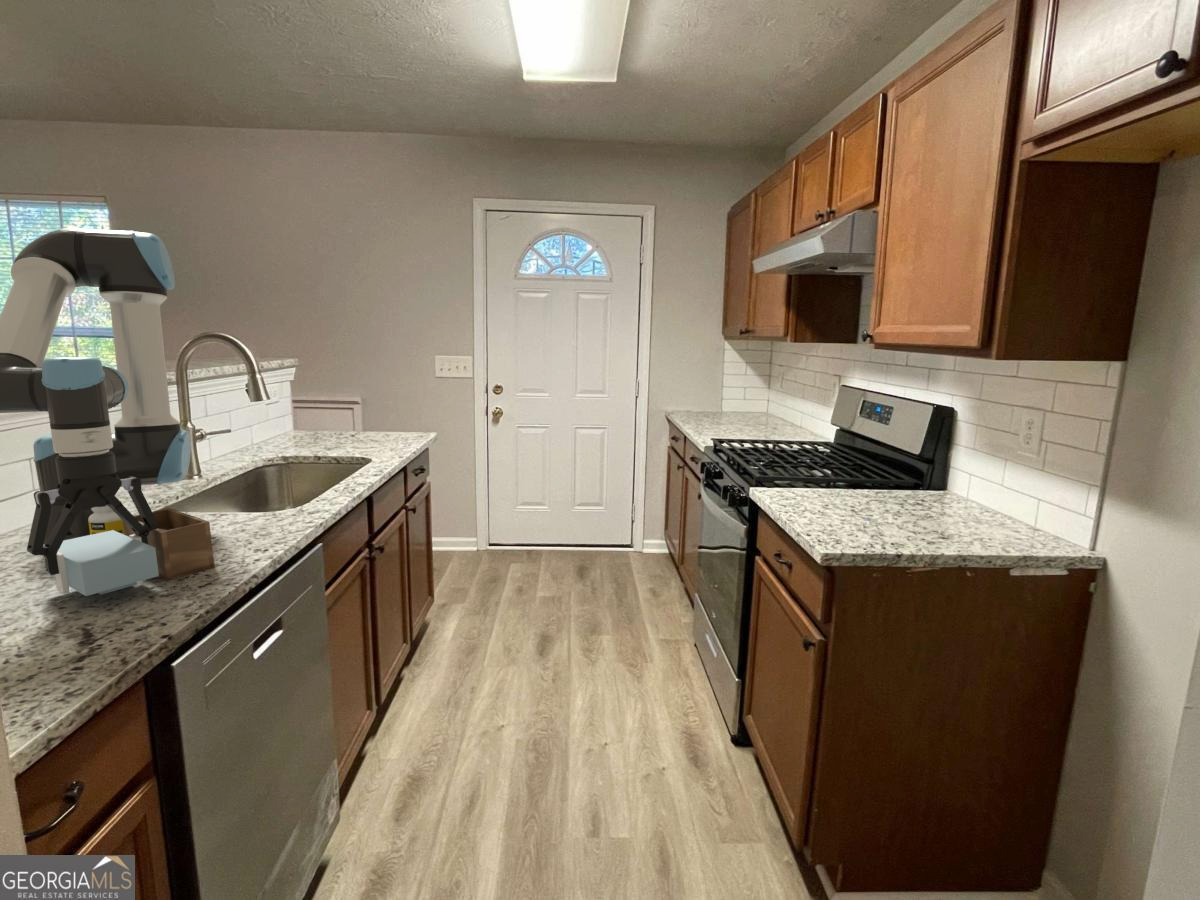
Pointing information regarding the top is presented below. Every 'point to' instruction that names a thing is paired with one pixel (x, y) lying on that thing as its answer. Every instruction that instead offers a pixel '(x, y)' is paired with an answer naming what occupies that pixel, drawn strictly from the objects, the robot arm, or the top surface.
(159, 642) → the top surface
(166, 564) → the box
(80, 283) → the robot arm
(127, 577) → the light blue block
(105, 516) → the pill bottle
